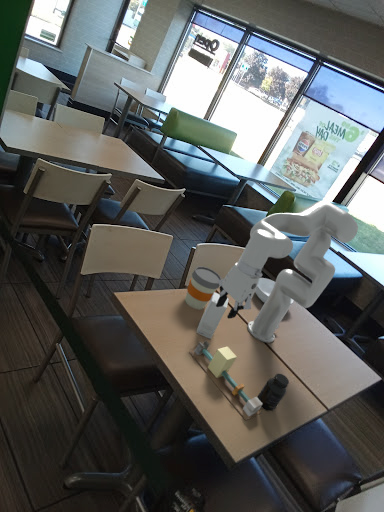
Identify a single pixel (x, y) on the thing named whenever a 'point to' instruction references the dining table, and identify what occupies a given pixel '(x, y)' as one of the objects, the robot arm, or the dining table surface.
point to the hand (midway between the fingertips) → (225, 311)
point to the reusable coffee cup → (201, 287)
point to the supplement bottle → (273, 392)
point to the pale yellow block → (222, 361)
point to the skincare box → (211, 317)
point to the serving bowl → (265, 289)
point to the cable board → (227, 384)
